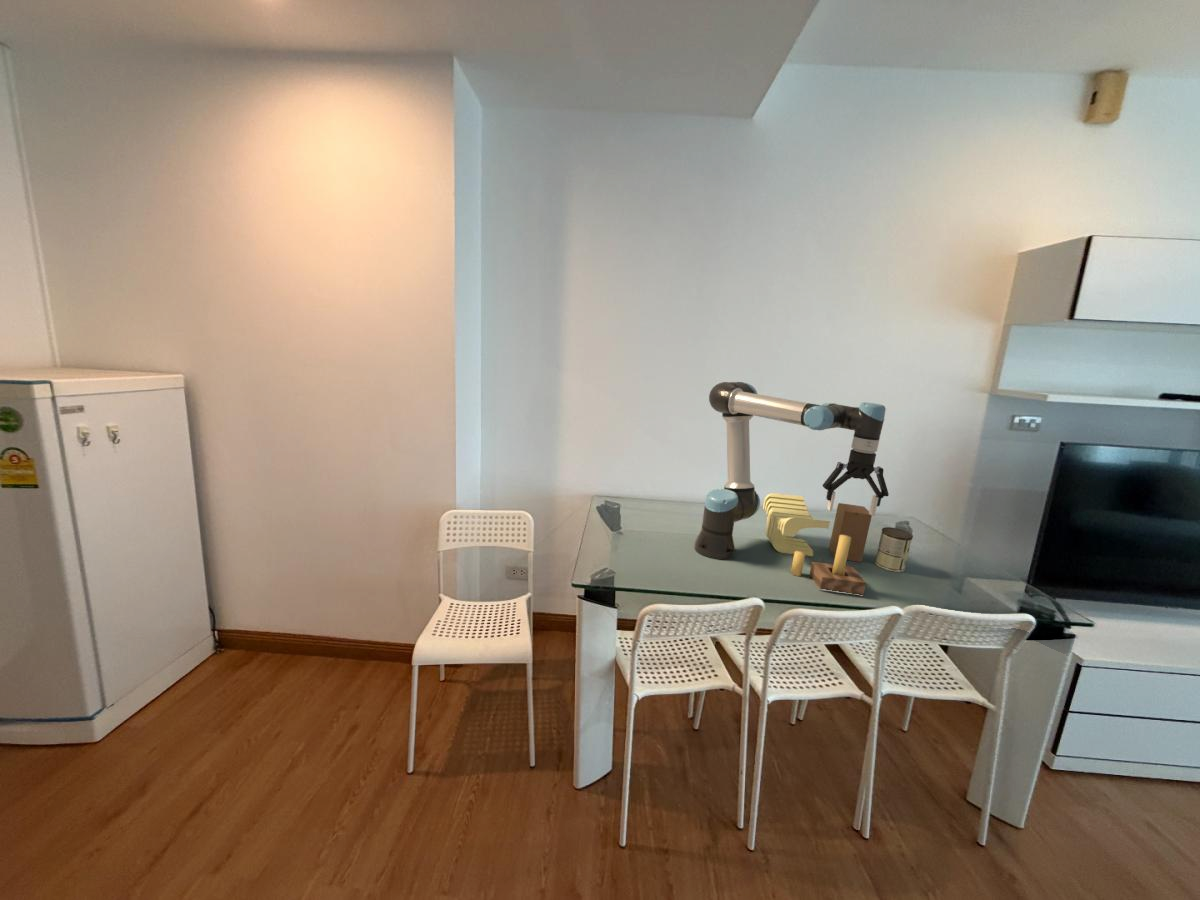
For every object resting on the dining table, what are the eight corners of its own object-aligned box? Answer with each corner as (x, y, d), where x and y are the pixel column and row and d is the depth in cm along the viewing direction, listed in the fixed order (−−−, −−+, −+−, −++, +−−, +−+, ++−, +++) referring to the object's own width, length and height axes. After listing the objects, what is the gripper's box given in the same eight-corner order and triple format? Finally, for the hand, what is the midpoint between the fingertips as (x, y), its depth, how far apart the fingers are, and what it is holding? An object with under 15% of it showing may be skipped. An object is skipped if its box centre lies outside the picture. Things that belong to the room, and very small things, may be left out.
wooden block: (861, 562, 194) (872, 514, 189) (834, 558, 195) (844, 510, 191) (854, 552, 203) (864, 506, 199) (828, 548, 205) (837, 502, 201)
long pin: (831, 586, 171) (841, 538, 167) (828, 582, 174) (838, 534, 170) (842, 588, 171) (852, 539, 166) (838, 583, 174) (849, 535, 170)
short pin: (791, 575, 177) (796, 554, 175) (789, 570, 181) (793, 550, 179) (802, 576, 177) (806, 555, 175) (799, 572, 180) (803, 551, 178)
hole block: (819, 590, 167) (822, 577, 166) (809, 574, 179) (812, 561, 178) (863, 596, 166) (866, 582, 165) (849, 579, 178) (852, 567, 177)
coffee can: (872, 558, 199) (879, 525, 196) (901, 563, 196) (909, 530, 193) (877, 568, 190) (885, 533, 187) (907, 574, 187) (916, 539, 183)
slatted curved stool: (758, 531, 218) (765, 492, 214) (795, 535, 217) (803, 496, 213) (778, 560, 188) (786, 516, 184) (820, 565, 188) (829, 521, 184)
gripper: (827, 448, 160) (815, 511, 164) (909, 457, 157) (894, 521, 162) (820, 444, 167) (808, 504, 172) (898, 452, 164) (884, 513, 169)
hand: (850, 512), depth 167 cm, fingers open, 13 cm apart
